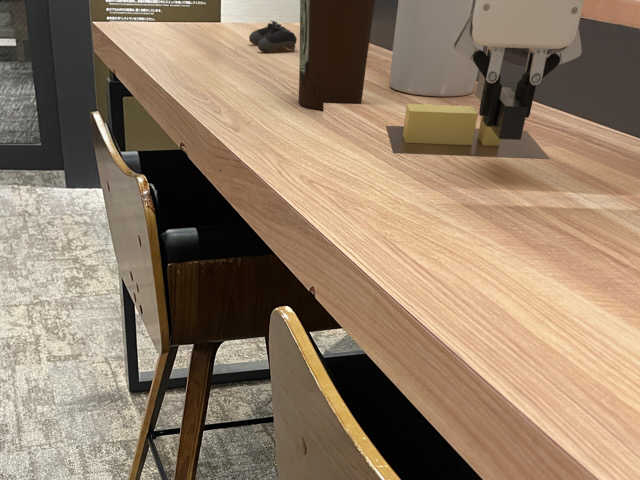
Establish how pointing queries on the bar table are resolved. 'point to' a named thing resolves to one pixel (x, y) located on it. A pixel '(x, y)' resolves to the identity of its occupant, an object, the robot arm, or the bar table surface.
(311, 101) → the olive oil
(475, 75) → the utensil holder
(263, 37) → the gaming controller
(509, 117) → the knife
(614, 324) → the bar table surface
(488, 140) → the butter slice
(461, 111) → the butter block
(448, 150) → the cutting board
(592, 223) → the bar table surface
